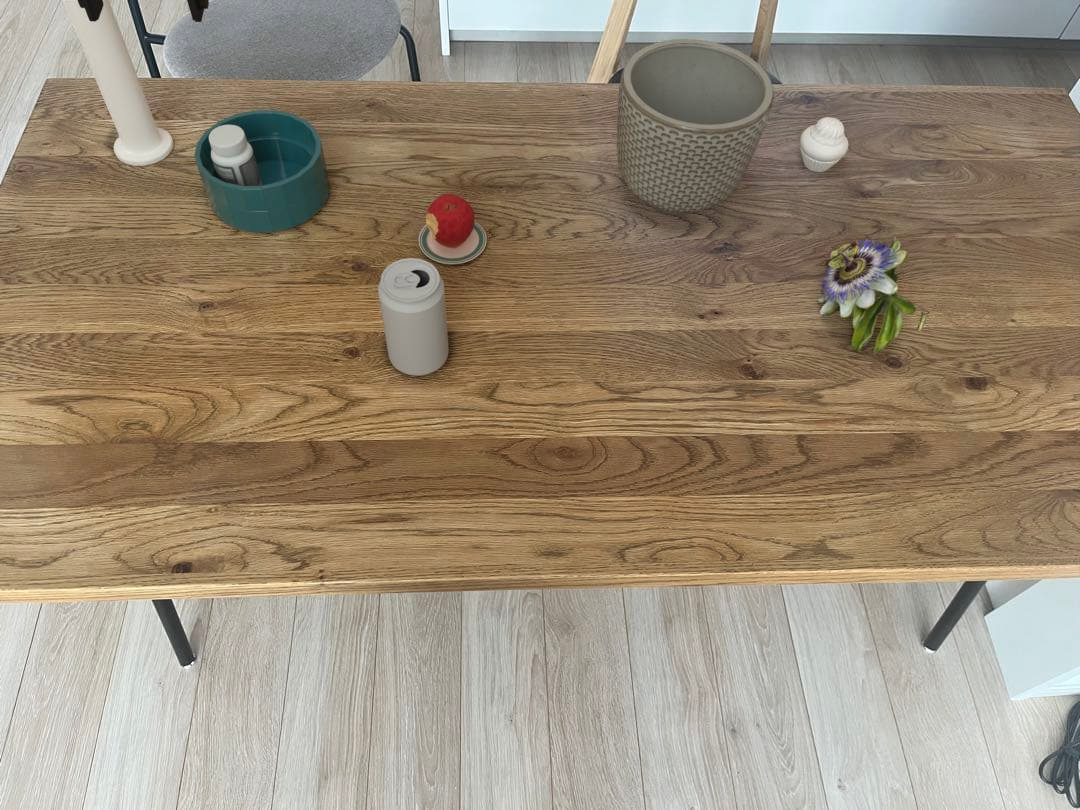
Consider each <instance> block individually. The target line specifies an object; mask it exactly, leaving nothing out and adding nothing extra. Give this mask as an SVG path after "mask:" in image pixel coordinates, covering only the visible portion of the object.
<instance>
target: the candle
mask: <svg viewBox="0 0 1080 810" xmlns="http://www.w3.org/2000/svg"><path fill="white" fill-rule="evenodd" d="M61 1H62V3H63V6H64V8H65V11H66V14H67V15H68V18H69V21H70V22H71V25H72V27H73V29H74V32H75V35H76V37H77V39H78V41H79V44H80V46H81V49H82V51H83V52H84V55H85V58H86V61H87V62H88V65H89V67H90V70H91V72H92V74H93V77H94V79H95V82H96V84H97V87H98V88H99V91H100V93H101V96H102V98H103V101H104V103H105V105H106V107H107V110H108V112H109V115H110V118H111V120H112V122H113V124H114V127H115V129H116V131H117V134H118V137H117V138H116V139H115V141H114V144H113V152H114V155H115V156H116V159H118V160H119V161H120V162H121V163H123V164H126V165H129V166H134V167H145V166H150V165H154V164H156V163H159V162H161V161H163V160H164V159H166V158H167V157H168V156H169V155H170V154H171V152H172V151H173V148H174V140H173V137H172V135H171V134H170V132H169V131H167V130H166V129H164V128H162V127H159V126H157V124H156V122H155V120H154V116H153V113H152V111H151V108H150V106H149V103H148V99H147V97H146V95H145V92H144V90H143V87H142V84H141V82H140V79H139V76H138V74H137V71H136V68H135V66H134V63H133V60H132V58H131V55H130V52H129V51H128V47H127V45H126V42H125V39H124V37H123V34H122V31H121V28H120V25H119V23H118V20H117V17H116V15H115V12H114V10H113V7H112V4H111V2H110V0H103V4H104V5H103V8H102V11H101V14H100V17H99V19H98V20H97V21H90V20H89V18H88V16H87V13H86V11H85V8H81V7H80V5H79V3H78V0H61Z"/></svg>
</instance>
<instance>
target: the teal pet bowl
mask: <svg viewBox="0 0 1080 810" xmlns="http://www.w3.org/2000/svg"><path fill="white" fill-rule="evenodd" d="M222 125H236V126H238V127H240V128H241V129H242V130H243V131H244V133H245V136H246V140H247V142H248V143H249V144H250V145H251V147H252V149H253V153H254V156H255V160H256V163H257V167H258V170H259V174H260V178H261V181H262V185H263V186H240V185H235V184H230V183H225V182H223V181H221V180H219V179H218V176H217V173H216V170H215V167H214V164H213V161H212V158H211V150H212V148H211V145H210V142H209V134H210V133H211V131H212V130H214V129H215V128H217V127H219V126H222ZM193 155H194V160H195V163H196V167H197V170H198V173H199V176H200V178H201V182H202V185H203V188H204V190H205V194H206V196H207V199H208V202H209V205H210V208H211V210H212V212H213V213H214V214H215V215H216V216H217V218H218V219H219V220H220V221H221V222H223V223H224V224H226V225H228V226H230V227H232V228H234V229H235V230H236V229H237V230H240V231H241V230H242V231H245V232H251V233H275V232H279V231H284V230H287V229H292V228H295V227H297V226H299V225H301V224H303V223H305V222H307V221H309V220H310V219H312V218H313V217H314V216H315V215H316V214H317V213H319V212H320V211H321V210H322V209H323V208H324V205H325V204H326V202H327V200H328V198H329V196H330V180H329V175H328V174H329V173H328V169H327V163H326V158H325V154H324V147H323V143H322V139H321V136H320V135H319V132H318V130H317V129H316V128H315V126H313V125H312V124H311V123H310V122H309V121H308V120H307V119H305V118H302V117H300V116H298V115H296V114H294V113H291V112H287V111H280V110H276V109H256V110H249V111H245V112H240V113H236V114H233V115H231V116H229V117H226V118H223V119H221V120H219V121H217V122H216V123H215V124H213V125H212V126H211V127H209V128H208V129H207V130H205V131H204V133H202V135H201V137H200V138H199V139H198V141H197V142H196V146H195V150H194V154H193Z"/></svg>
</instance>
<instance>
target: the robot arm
mask: <svg viewBox="0 0 1080 810" xmlns="http://www.w3.org/2000/svg"><path fill="white" fill-rule="evenodd" d="M186 2H187V6H188V8H189V13H190V15H191V18H192V21H194V22H195V23H202V21H203V17H204V12H205V10H208V9H209V6H210V1H209V0H186ZM78 3H79V5H80V7H81V8H85V11H86V13H87V16H88V18H89V20H90V21H97V20H98V19H99V17H100V14H101V11H102V8H103V5H104V4H103V0H78Z"/></svg>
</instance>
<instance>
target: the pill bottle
mask: <svg viewBox="0 0 1080 810" xmlns="http://www.w3.org/2000/svg"><path fill="white" fill-rule="evenodd" d="M209 142H210V145H211V148H212V150H211V158H212V161H213V164H214V167H215V170H216V173H217V176H218V179H219V180H221V181H223V182H225V183H230V184H235V185H240V186H263V185H262V181H261V178H260V174H259V170H258V167H257V163H256V160H255V156H254V153H253V149H252V147H251V145H250V144H249V143H248V142H247V140H246V136H245V133H244V131H243V130H242V129H241V128H240V127H238V126H236V125H222V126H219V127H217V128H215V129H214V130H212V131H211V133H210V134H209Z"/></svg>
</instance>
